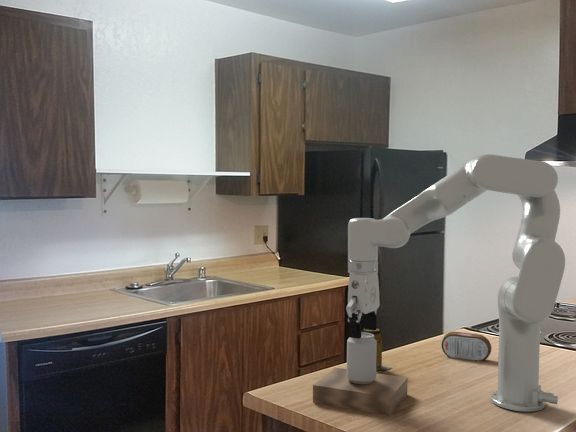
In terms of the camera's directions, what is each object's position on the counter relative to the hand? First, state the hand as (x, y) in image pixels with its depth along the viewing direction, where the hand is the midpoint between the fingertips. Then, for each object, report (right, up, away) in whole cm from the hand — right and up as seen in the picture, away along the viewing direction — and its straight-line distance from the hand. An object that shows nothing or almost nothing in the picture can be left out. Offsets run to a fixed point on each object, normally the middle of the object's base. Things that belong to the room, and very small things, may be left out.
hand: (362, 333), depth 153 cm
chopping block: (0, -17, +1) cm, 17 cm away
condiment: (+6, -16, +26) cm, 31 cm away
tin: (+37, -16, +36) cm, 54 cm away
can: (0, -12, +1) cm, 12 cm away
